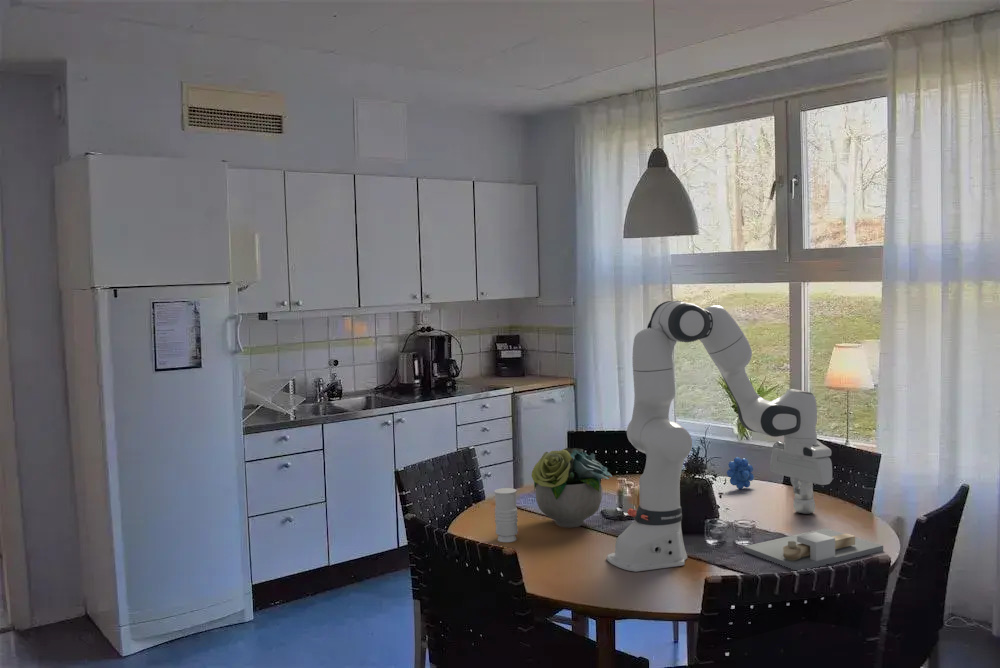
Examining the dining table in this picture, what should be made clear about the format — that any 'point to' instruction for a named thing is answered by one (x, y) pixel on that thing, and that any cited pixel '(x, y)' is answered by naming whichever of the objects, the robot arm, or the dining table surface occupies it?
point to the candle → (506, 514)
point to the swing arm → (804, 549)
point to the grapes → (740, 473)
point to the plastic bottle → (805, 500)
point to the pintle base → (805, 561)
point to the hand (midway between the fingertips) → (799, 494)
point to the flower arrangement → (568, 485)
